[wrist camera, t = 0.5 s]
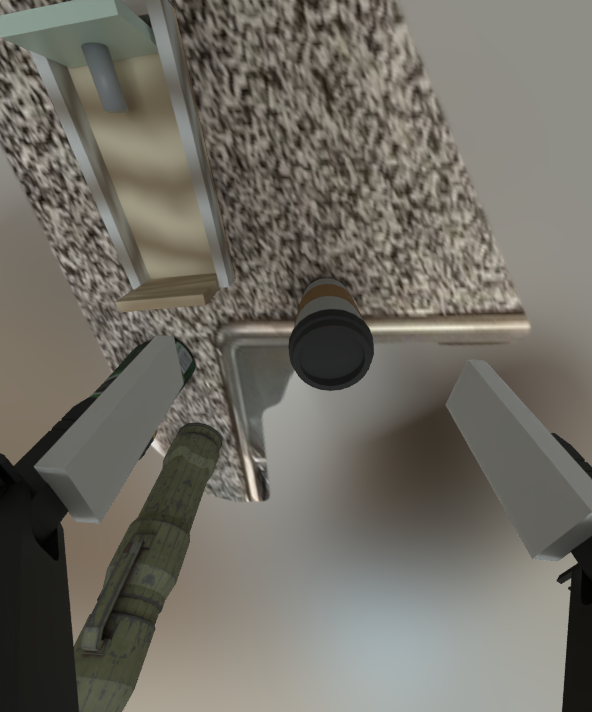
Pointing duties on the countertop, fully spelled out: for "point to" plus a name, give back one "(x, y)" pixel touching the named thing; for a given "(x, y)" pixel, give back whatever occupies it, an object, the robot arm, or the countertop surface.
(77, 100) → the tray
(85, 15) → the pusher
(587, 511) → the robot arm
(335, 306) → the coffee cup
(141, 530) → the thermos
